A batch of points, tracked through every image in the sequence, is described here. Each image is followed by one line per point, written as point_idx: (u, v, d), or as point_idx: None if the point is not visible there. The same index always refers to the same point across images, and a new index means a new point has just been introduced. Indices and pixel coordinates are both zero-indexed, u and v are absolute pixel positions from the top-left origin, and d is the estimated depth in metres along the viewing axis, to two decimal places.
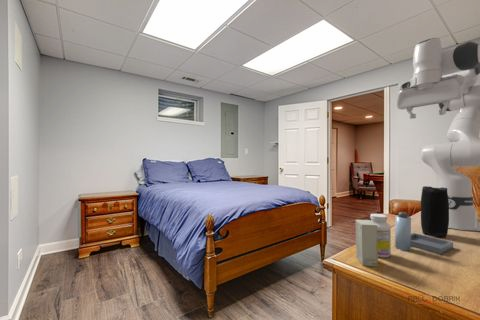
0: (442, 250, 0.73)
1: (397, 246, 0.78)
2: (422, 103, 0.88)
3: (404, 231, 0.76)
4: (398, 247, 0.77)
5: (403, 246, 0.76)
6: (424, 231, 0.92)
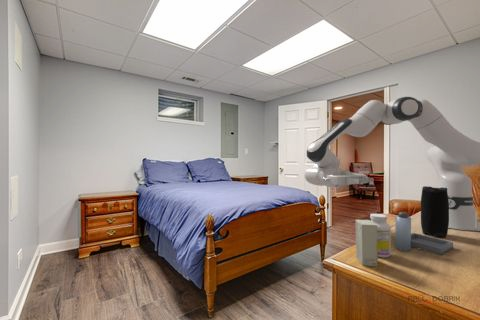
0: (442, 250, 0.73)
1: (397, 246, 0.78)
2: None
3: (405, 231, 0.76)
4: (398, 247, 0.77)
5: (403, 246, 0.76)
6: (424, 231, 0.92)
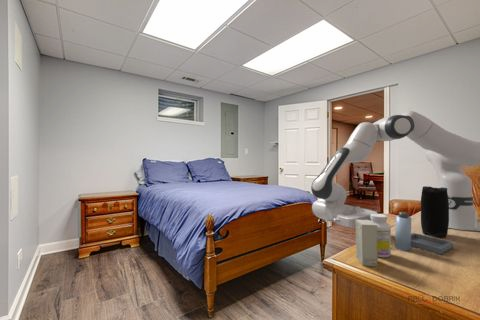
0: (442, 250, 0.73)
1: (397, 246, 0.78)
2: None
3: (405, 231, 0.76)
4: (398, 247, 0.77)
5: (404, 246, 0.76)
6: (424, 231, 0.92)
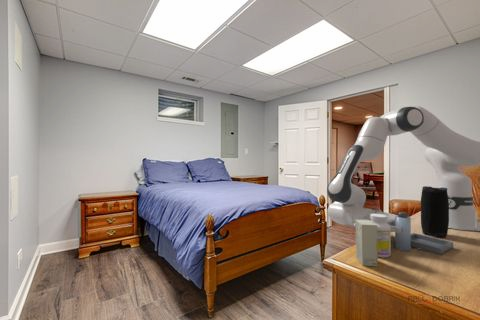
0: (442, 250, 0.73)
1: (397, 246, 0.78)
2: None
3: (405, 231, 0.76)
4: (398, 247, 0.77)
5: (404, 246, 0.76)
6: (424, 231, 0.92)
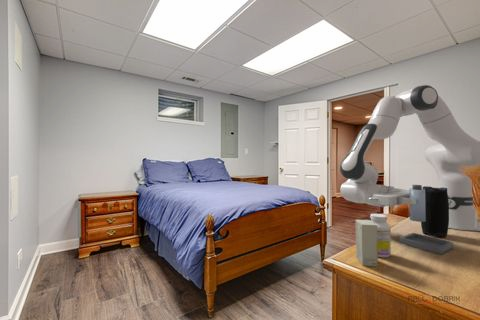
0: (442, 250, 0.73)
1: (412, 218, 0.79)
2: None
3: (419, 202, 0.78)
4: (413, 218, 0.79)
5: (419, 217, 0.78)
6: (424, 231, 0.92)
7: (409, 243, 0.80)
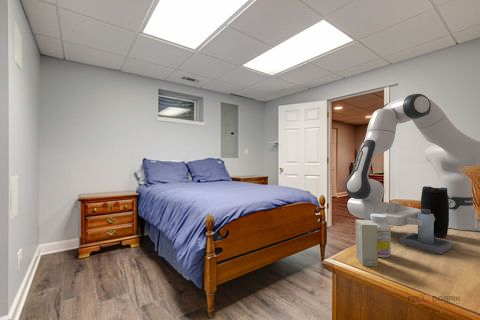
0: (442, 250, 0.73)
1: None
2: None
3: (428, 227, 0.79)
4: (421, 242, 0.80)
5: (427, 242, 0.79)
6: None
7: (409, 243, 0.80)
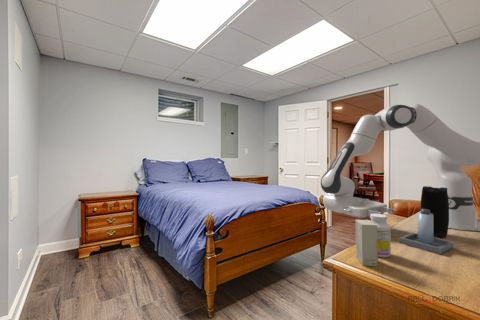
0: (442, 250, 0.73)
1: None
2: None
3: (428, 227, 0.79)
4: (422, 242, 0.80)
5: (427, 242, 0.79)
6: None
7: (409, 243, 0.80)
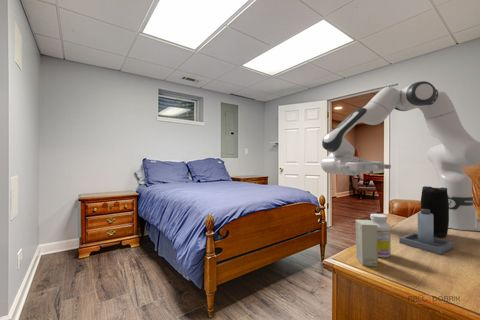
0: (442, 250, 0.73)
1: None
2: (372, 170, 0.97)
3: (428, 227, 0.79)
4: (422, 242, 0.80)
5: (427, 242, 0.79)
6: None
7: (409, 243, 0.80)
